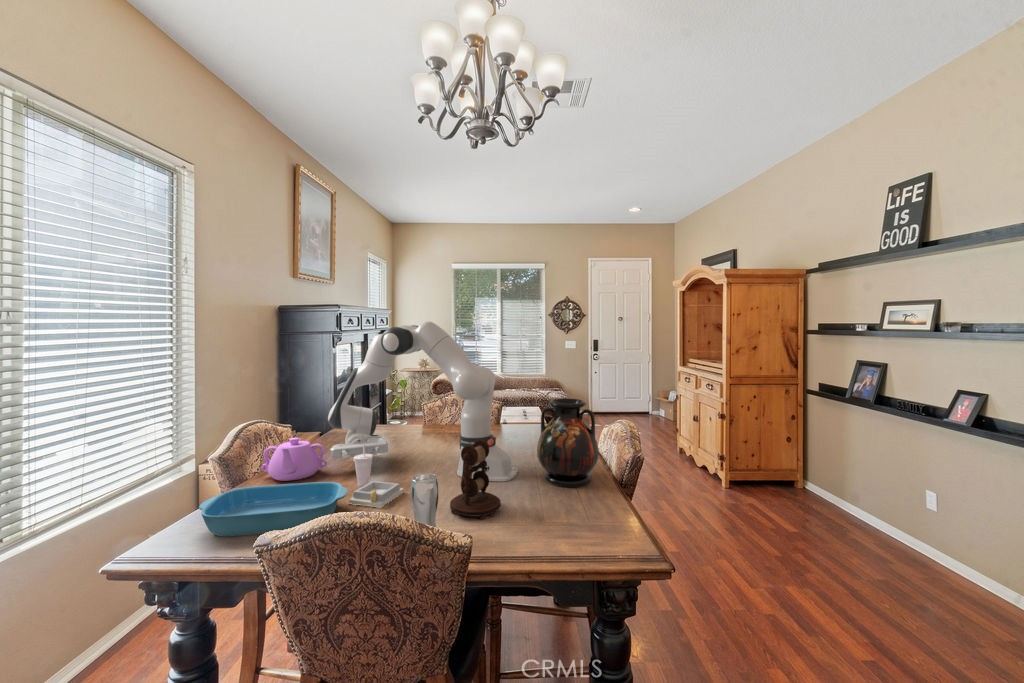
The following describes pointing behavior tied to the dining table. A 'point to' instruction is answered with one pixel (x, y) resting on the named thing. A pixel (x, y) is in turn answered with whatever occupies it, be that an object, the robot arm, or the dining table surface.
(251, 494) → the casserole dish
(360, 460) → the smoothie
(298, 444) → the teapot
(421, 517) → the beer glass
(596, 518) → the dining table surface
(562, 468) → the amphora vase
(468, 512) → the brown spool stand
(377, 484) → the collar plate
